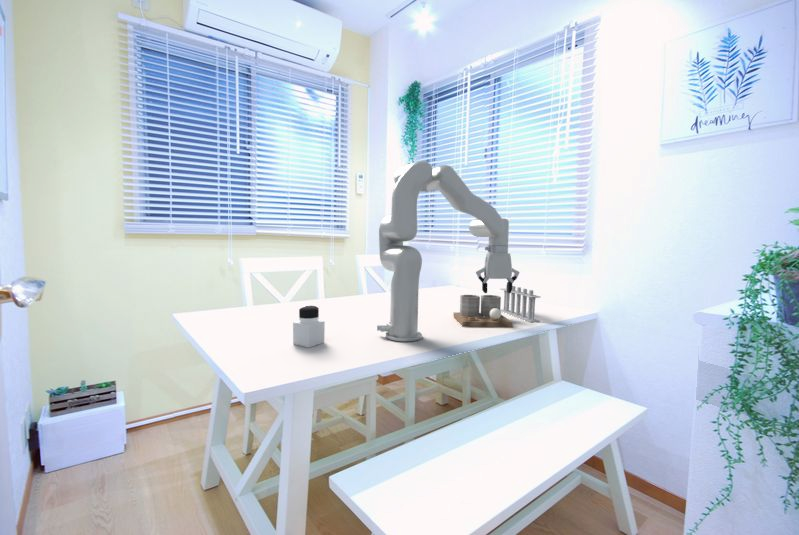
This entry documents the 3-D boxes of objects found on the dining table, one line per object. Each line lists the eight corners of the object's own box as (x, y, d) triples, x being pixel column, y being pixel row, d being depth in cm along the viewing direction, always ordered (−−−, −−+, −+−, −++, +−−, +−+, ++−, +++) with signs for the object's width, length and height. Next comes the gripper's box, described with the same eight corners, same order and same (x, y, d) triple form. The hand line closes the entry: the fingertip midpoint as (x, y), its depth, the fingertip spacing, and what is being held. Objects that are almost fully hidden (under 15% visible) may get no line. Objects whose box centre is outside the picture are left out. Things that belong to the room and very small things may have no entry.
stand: (462, 326, 147) (463, 301, 146) (453, 316, 165) (454, 294, 164) (512, 327, 148) (513, 302, 147) (498, 317, 166) (499, 294, 165)
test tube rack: (498, 311, 180) (499, 284, 179) (506, 311, 181) (508, 283, 180) (530, 323, 156) (532, 291, 155) (539, 322, 158) (541, 291, 156)
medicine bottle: (324, 342, 122) (325, 306, 121) (309, 348, 116) (309, 309, 115) (308, 339, 125) (308, 303, 124) (292, 344, 119) (292, 306, 118)
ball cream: (491, 320, 149) (491, 309, 148) (487, 318, 153) (488, 307, 153) (502, 320, 149) (502, 309, 148) (498, 318, 153) (499, 307, 153)
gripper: (479, 250, 144) (478, 294, 146) (523, 250, 145) (521, 294, 147) (474, 249, 152) (473, 291, 154) (516, 249, 153) (514, 291, 154)
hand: (497, 292), depth 150 cm, fingers open, 9 cm apart
